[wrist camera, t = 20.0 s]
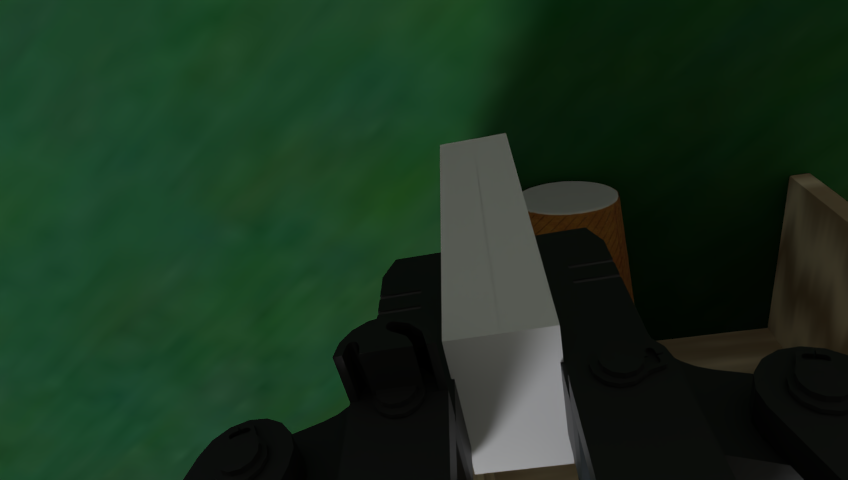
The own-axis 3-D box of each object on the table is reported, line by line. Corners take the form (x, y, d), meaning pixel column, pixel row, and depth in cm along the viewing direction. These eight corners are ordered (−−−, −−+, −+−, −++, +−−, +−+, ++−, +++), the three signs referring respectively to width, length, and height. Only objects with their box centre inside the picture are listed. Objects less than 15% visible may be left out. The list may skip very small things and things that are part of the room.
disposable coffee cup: (499, 176, 40) (511, 322, 45) (474, 226, 32) (492, 400, 36) (643, 169, 37) (641, 326, 42) (656, 222, 29) (652, 411, 33)
